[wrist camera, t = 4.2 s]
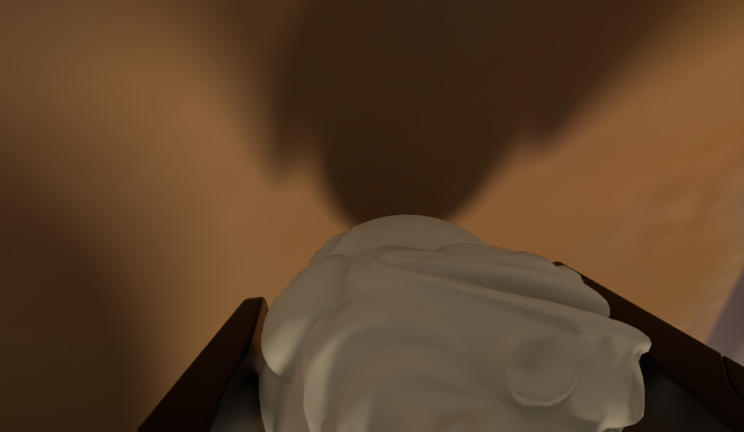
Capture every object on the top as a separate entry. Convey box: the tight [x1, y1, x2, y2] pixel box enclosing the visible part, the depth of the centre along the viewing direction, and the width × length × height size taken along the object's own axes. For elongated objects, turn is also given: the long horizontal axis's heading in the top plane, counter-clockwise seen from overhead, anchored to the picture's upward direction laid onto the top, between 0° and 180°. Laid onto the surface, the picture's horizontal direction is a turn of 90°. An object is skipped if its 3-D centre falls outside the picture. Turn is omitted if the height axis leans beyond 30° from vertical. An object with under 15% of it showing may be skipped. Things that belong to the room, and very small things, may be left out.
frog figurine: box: [259, 214, 651, 432], centre depth 8 cm, size 6×7×7 cm
